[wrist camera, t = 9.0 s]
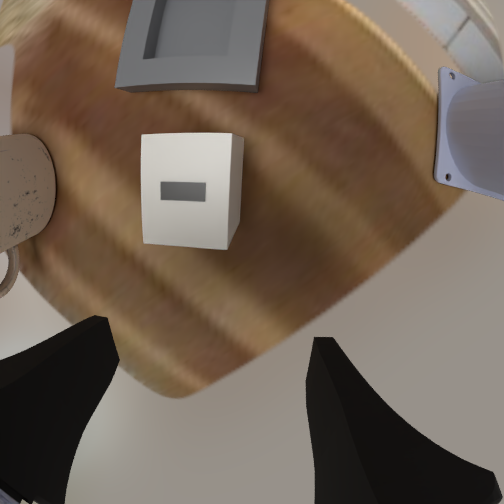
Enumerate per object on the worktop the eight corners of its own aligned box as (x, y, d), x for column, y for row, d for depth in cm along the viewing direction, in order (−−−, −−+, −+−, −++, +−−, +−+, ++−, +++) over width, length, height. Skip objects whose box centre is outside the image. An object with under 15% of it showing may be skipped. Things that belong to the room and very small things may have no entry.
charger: (244, 138, 15) (231, 133, 11) (239, 221, 17) (226, 250, 12) (177, 137, 16) (140, 134, 11) (176, 217, 17) (142, 244, 13)
